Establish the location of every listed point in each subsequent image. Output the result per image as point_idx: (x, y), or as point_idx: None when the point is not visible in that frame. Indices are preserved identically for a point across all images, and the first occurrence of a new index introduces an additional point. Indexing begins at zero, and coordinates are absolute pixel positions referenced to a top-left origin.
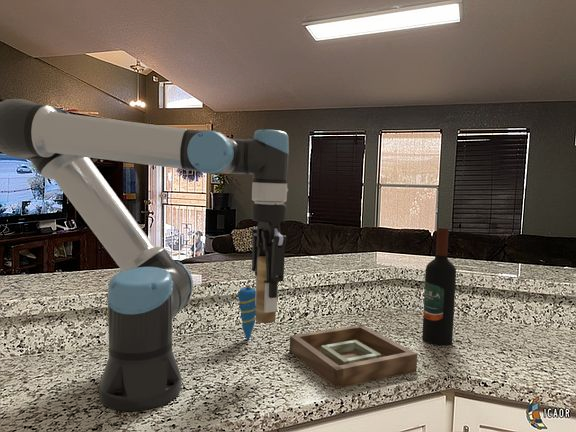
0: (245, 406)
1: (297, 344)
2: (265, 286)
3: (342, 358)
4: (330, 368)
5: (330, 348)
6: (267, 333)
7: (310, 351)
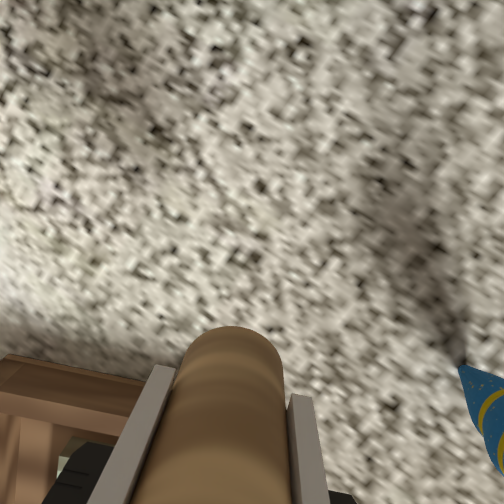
0: (45, 85)
1: None
2: (107, 501)
3: None
4: (13, 386)
5: None
6: (461, 448)
7: None
